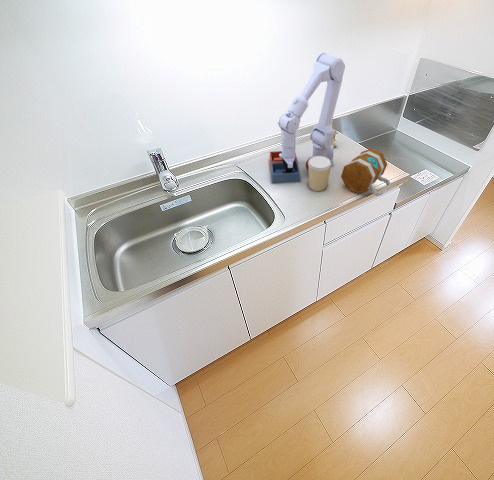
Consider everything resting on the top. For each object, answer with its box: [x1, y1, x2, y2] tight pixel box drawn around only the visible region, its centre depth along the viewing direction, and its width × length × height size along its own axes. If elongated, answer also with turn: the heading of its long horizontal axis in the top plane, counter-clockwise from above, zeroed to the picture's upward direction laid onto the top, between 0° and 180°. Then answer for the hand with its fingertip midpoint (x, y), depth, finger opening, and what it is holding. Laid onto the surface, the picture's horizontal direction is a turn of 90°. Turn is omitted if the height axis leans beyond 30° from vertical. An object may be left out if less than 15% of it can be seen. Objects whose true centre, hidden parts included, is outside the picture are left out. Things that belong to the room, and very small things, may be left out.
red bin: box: [269, 150, 298, 164], centre depth 130 cm, size 9×12×4 cm
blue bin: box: [270, 160, 301, 184], centre depth 123 cm, size 9×12×4 cm
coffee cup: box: [308, 156, 332, 192], centre depth 116 cm, size 9×9×12 cm
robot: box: [331, 123, 339, 149], centre depth 138 cm, size 10×8×15 cm
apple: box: [305, 156, 312, 173], centre depth 124 cm, size 8×8×8 cm
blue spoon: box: [274, 169, 295, 174], centre depth 124 cm, size 9×4×3 cm, turn 95°
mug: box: [340, 147, 392, 197], centre depth 116 cm, size 20×14×15 cm
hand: (288, 172), depth 124 cm, fingers closed on blue spoon, 2 cm apart
